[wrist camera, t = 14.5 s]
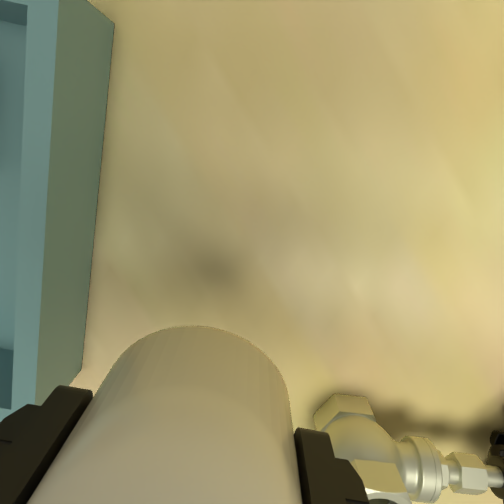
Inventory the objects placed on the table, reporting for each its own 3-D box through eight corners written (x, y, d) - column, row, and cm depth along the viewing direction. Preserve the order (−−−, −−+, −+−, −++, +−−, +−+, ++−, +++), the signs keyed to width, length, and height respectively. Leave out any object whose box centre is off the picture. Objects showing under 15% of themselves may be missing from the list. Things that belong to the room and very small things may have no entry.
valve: (300, 458, 24) (490, 479, 24) (317, 573, 18) (573, 598, 18) (319, 365, 22) (523, 388, 22) (344, 455, 16) (628, 486, 16)
